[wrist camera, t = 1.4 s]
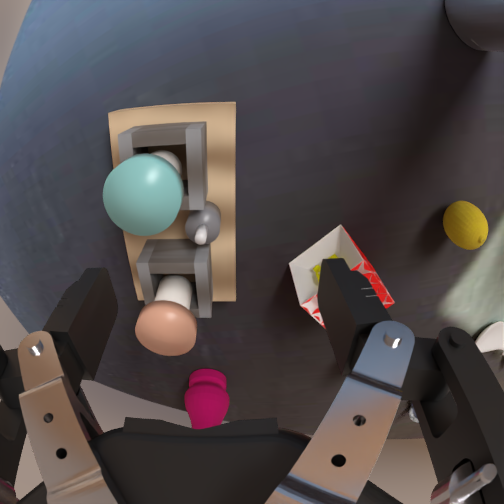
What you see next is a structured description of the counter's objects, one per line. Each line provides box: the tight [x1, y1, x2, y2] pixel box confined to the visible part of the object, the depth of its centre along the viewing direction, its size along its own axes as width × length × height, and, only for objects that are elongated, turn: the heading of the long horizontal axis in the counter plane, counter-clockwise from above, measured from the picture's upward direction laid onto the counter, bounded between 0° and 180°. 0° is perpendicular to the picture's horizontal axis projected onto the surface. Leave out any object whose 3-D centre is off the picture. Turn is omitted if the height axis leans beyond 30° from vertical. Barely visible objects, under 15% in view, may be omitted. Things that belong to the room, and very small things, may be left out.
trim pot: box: [185, 201, 221, 245], centre depth 29 cm, size 3×3×5 cm
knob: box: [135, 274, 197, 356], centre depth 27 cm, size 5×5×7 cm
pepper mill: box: [185, 369, 229, 429], centre depth 41 cm, size 7×7×20 cm
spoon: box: [475, 321, 504, 355], centre depth 52 cm, size 9×32×4 cm, turn 61°
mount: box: [108, 102, 236, 318], centre depth 30 cm, size 22×12×8 cm, turn 179°
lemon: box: [443, 201, 488, 250], centre depth 32 cm, size 6×6×8 cm
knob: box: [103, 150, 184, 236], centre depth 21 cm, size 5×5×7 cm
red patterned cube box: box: [289, 224, 394, 329], centre depth 35 cm, size 8×8×8 cm
